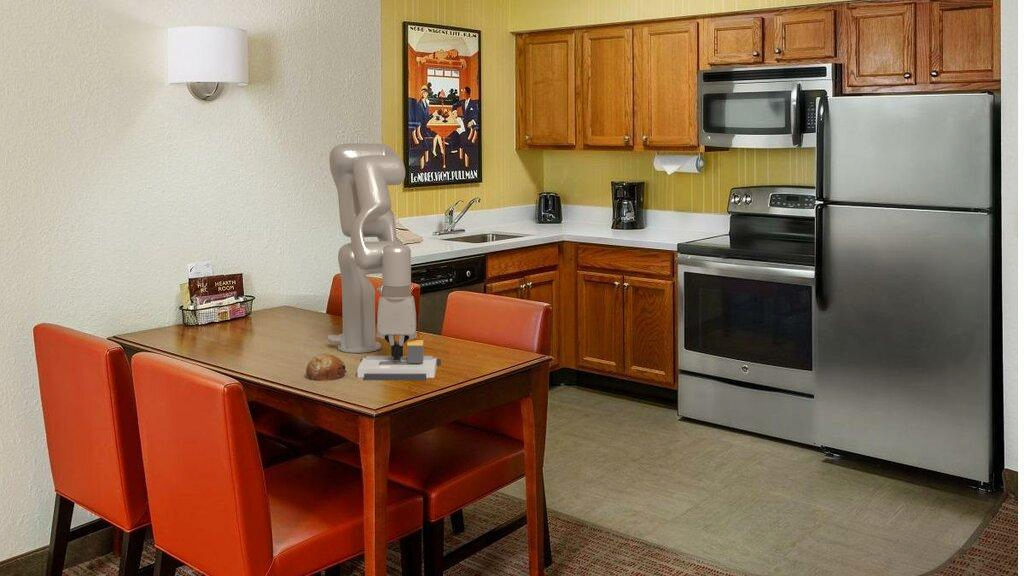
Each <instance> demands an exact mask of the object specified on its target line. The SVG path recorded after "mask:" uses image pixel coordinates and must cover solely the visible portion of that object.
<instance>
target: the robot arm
mask: <svg viewBox="0 0 1024 576" xmlns="http://www.w3.org/2000/svg"><path fill="white" fill-rule="evenodd" d="M328 163H329V169H330V173H331V176H332V179H333V182H334V185H335V188H336V191H337V201H338V211H339V213H338V214H339V221H340V222H339V223H340V228H341V231H342V234H343V236H345V237H347V238H350V242H349V243H346V244H343V245H342V246H341V247H340V248H339V249H338V253H337V259H338V267H339V272H340V278H341V279H340V280H341V297H342V298H341V299H342V300H341V303H342V305H341V306H342V307H341V308H342V309H341V310H342V332H341V333H338V335H337V334H328V336H327V341H328V342H330V343H338V344H337V350H339V351H340V352H344V353H353V354H357V353H358V354H360V353H362V354H363V353H370V352H375V351H379V350H380V349H382V344H381V343H380V342H378V341H376V337H377V338H379V339H382V340H385V341H386V342H387V343H388V344H389V345H390V349H391V350H390V352H391V354H390V356H392V357H394V360H400V359H401V357H403V356H404V344H406V342H408V340H414V339H416V338H418V332H417V312H416V311H417V310H416V303H415V298H414V296H413V295H412V263H411V262H412V253H411V252H412V250H411V248H410V247H409V246H408V245H406V244H404V242H402V241H398V238H397V236H398V235H397V226H396V218H395V214H394V212H393V210H392V205H393V204H392V200H391V195H390V190H389V186H399V185H402V184H403V182H404V181H405V179H406V178H405V177H406V167H405V165H404V164H405V163H404V161H403V159H402V158H401V156H400V155H399V154H398V152H396V151H395V150H394V149H393V148H392V147H390V146H389V145H388V144H385V143H360V142H359V143H358V142H357V143H352V142H351V143H342V144H337V145H335V146H333V148H332V149H331V150H330V153H329V162H328ZM365 238H377V240H378V241H366V240H365ZM375 274H376V275H377V274H381V275H382V277H381V280H382V281H381V282H382V284H381V286H377V287H376V291H375V287H374V285H373V284H372V282H371V281H370V280H369V278H367V276H368V275H369V276H370V275H375ZM376 292H377V293H380V294H381V296H379V299H378V305H377V319H376V297H375V296H376ZM376 321H377V322H376ZM376 331H377V333H376ZM396 336H399V340H398V342H397V341H396Z"/></svg>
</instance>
